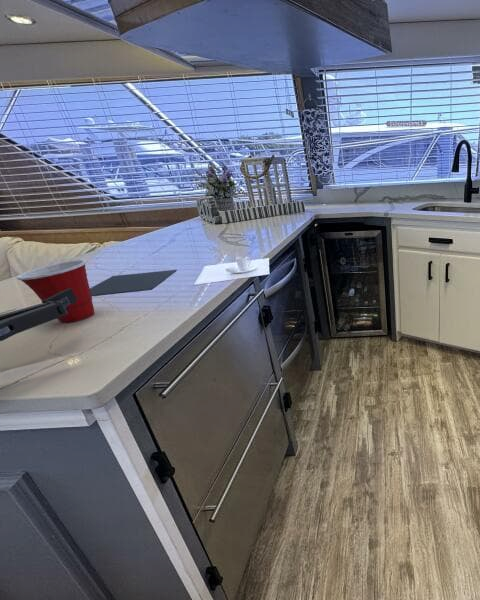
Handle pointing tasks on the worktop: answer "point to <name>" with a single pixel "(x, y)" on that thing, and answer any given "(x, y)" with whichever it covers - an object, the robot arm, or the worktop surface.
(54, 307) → the robot arm
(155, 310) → the worktop surface
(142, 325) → the worktop surface
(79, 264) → the plastic cup
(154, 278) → the mat
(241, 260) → the teacup and saucer
